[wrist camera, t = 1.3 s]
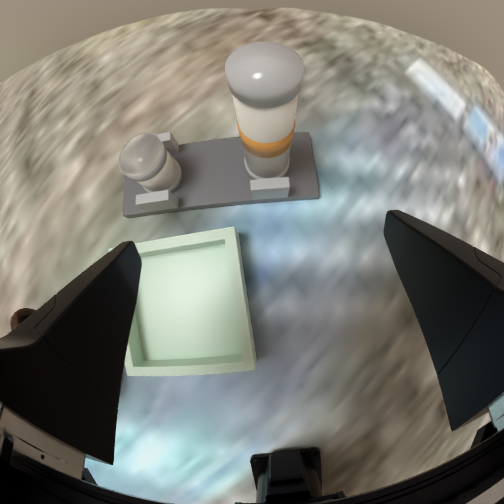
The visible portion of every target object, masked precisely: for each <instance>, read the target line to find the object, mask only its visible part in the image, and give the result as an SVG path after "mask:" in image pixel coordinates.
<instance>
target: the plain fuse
mask: <svg viewBox="0 0 504 504" xmlns="http://www.w3.org/2000/svg"><path fill="white" fill-rule="evenodd" d="M119 167H120V169H121V171H122V172H123V173H124V174H125V175H126V176H128V177H129V178H130V179H132V180H134V181H136V182H138V183H139V184H140V185H142V186H143V188H144V189H145V190H146V191H148V192H149V193H151V192H157V191H163V190H169V191H170V192H171V193H173V192H174V191H175V190H176V189H177V188H178V187H179V185H180V183H181V181H182V177H183V172H182V168H181V166H180V165H179V163H178V162H177V161H176V160H175V158H173V157H172V156H171V155H170V154H169V152H168V151H167V150H166V147H165V145H164V144H163V143H162V141H161V140H160V139H159V138H158V136H156V135H154V134H152V133H141V134H138V135H136V136H134V137H132V138H131V139H130V140H129V141H128V142H127V143H126V144H125V145H124V146H123V148H122V150H121V152H120V155H119Z"/></svg>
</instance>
